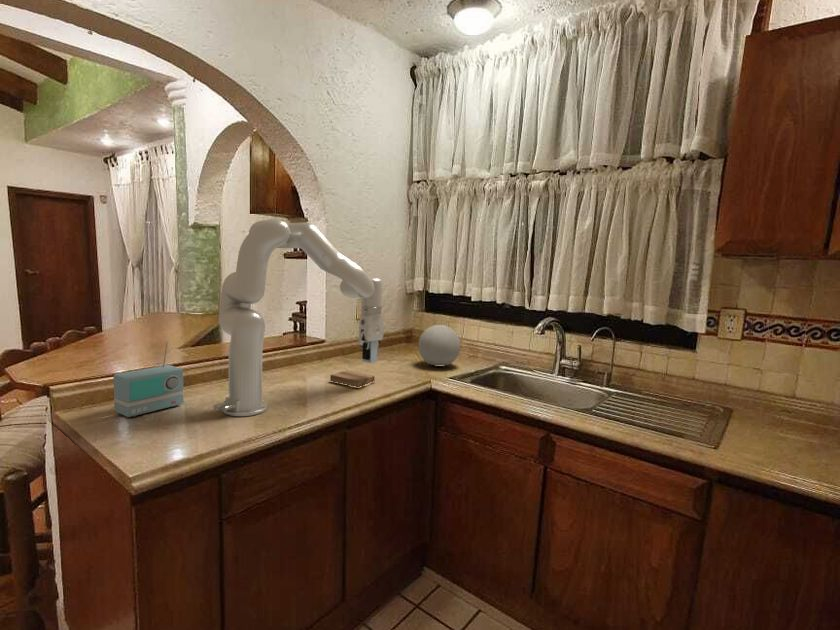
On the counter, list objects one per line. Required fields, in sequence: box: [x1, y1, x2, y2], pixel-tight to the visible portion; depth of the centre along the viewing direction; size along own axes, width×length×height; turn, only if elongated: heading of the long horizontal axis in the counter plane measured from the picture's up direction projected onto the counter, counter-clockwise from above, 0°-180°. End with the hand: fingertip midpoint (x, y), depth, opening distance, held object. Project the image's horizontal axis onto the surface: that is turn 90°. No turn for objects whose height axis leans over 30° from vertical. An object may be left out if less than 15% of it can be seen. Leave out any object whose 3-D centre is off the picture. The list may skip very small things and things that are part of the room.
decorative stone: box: [418, 324, 461, 366], centre depth 202 cm, size 20×20×20 cm
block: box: [361, 340, 379, 364], centre depth 162 cm, size 4×4×8 cm
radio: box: [113, 340, 184, 418], centre depth 126 cm, size 16×9×20 cm, turn 149°
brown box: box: [329, 369, 375, 387], centre depth 167 cm, size 10×14×3 cm
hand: (369, 357), depth 162 cm, fingers closed on block, 4 cm apart
